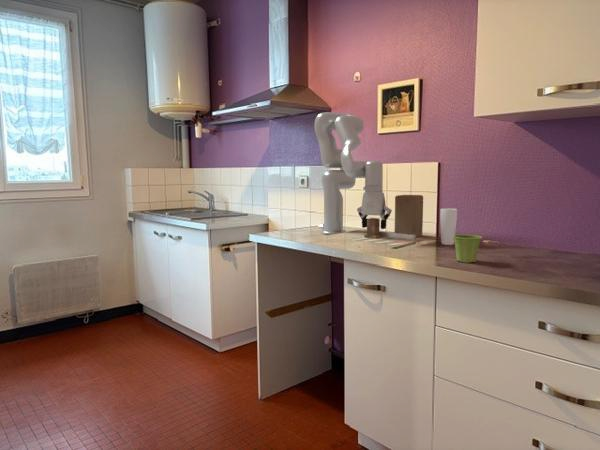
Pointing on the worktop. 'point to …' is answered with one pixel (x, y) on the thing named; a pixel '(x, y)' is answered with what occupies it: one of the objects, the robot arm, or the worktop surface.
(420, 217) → the wooden block
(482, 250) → the worktop surface
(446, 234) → the drinking glass
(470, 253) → the plant pot
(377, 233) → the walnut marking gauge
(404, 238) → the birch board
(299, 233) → the worktop surface
